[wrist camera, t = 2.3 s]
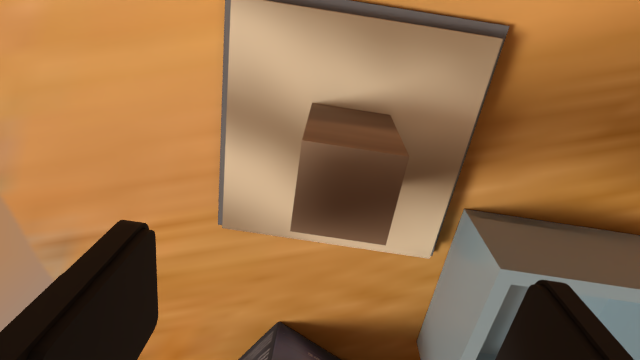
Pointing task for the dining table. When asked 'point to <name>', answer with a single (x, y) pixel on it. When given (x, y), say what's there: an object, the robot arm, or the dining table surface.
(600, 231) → the open box
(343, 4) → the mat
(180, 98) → the dining table surface
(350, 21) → the lid
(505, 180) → the dining table surface
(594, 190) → the dining table surface
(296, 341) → the small box
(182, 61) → the dining table surface
